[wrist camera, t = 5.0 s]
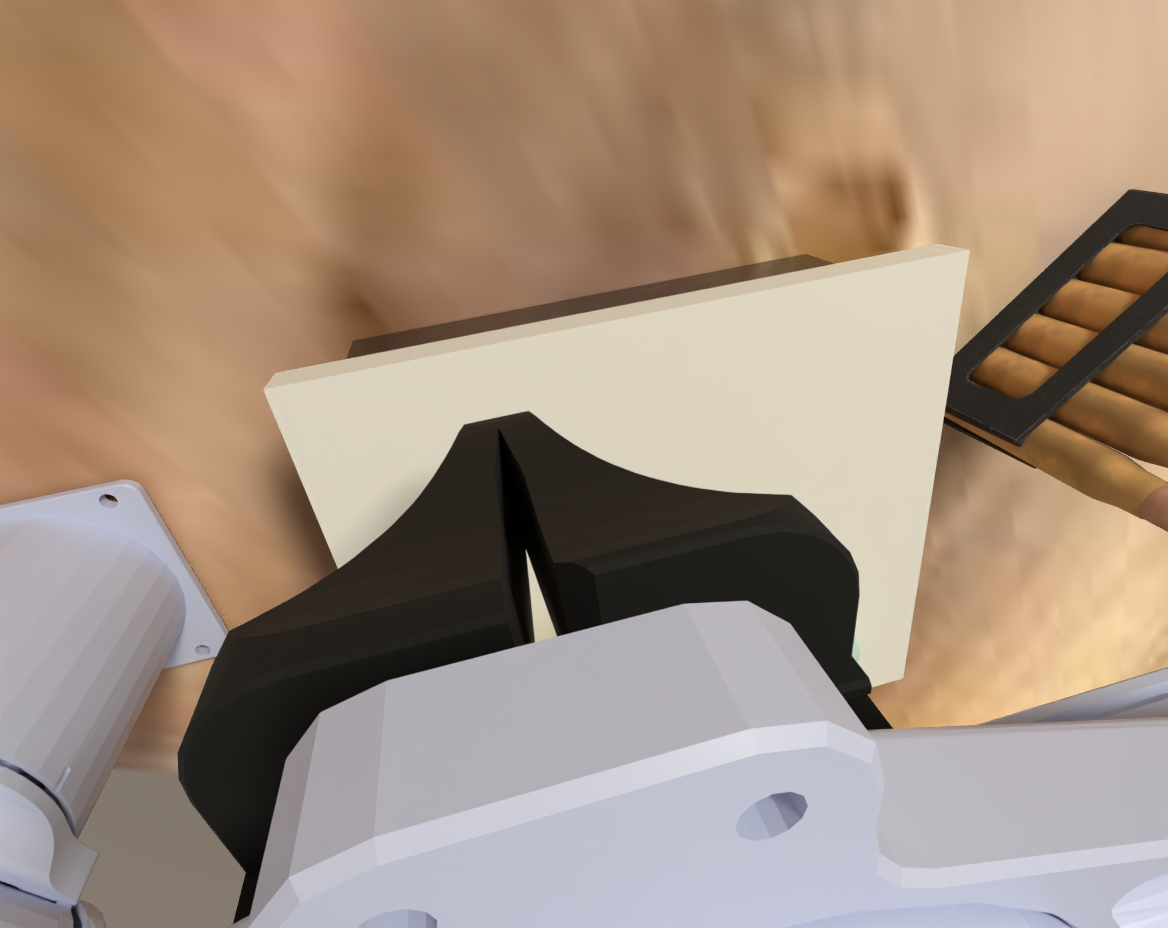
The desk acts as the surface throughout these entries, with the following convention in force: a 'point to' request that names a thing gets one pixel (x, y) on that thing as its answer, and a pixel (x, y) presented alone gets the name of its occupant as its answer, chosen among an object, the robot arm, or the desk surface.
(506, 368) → the plate
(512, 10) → the desk surface
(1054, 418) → the ammunition clip
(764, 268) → the leveling base
